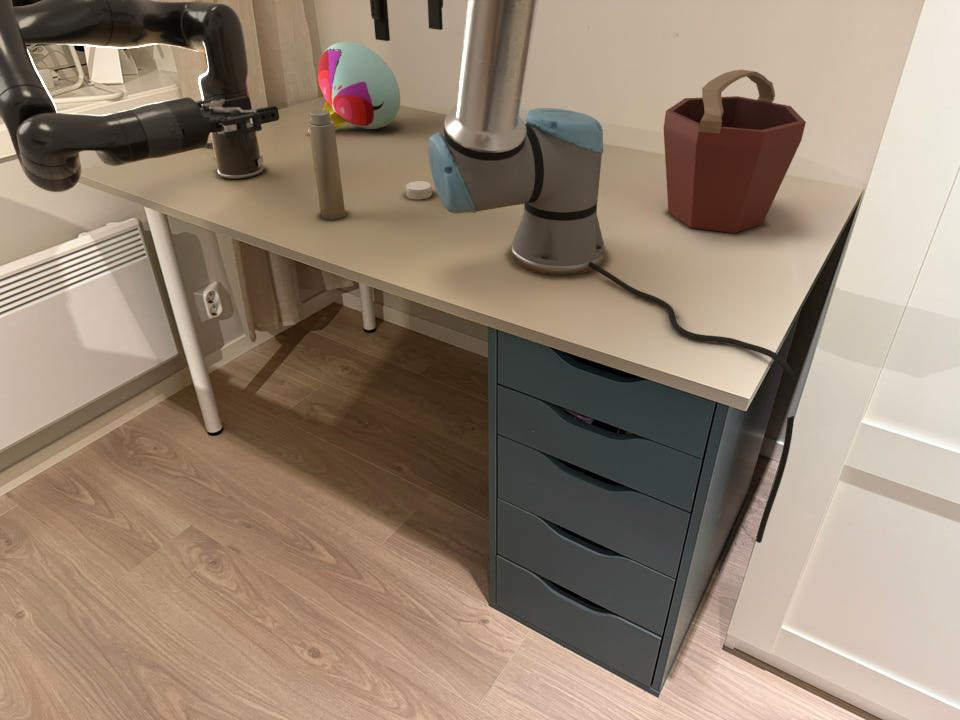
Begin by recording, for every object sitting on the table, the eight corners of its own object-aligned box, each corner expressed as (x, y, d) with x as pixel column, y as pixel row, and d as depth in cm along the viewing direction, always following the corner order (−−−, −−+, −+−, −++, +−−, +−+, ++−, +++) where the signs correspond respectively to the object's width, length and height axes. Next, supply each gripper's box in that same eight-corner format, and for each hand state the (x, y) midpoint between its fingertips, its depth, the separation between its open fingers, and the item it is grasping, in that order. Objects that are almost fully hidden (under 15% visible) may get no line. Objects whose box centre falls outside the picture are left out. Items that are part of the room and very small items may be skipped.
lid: (424, 201, 138) (423, 191, 137) (401, 197, 140) (401, 187, 139) (436, 192, 142) (435, 183, 141) (413, 189, 144) (413, 179, 143)
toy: (277, 110, 181) (275, 51, 163) (352, 72, 191) (358, 13, 173) (336, 175, 178) (341, 122, 160) (410, 134, 188) (421, 79, 170)
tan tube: (331, 209, 135) (318, 107, 125) (350, 213, 134) (337, 110, 123) (316, 217, 132) (301, 113, 122) (334, 221, 130) (321, 117, 120)
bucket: (710, 250, 119) (740, 96, 105) (622, 208, 134) (638, 69, 120) (804, 218, 129) (843, 75, 115) (713, 183, 145) (736, 53, 131)
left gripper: (153, 143, 112) (245, 122, 121) (195, 164, 103) (291, 139, 113) (140, 94, 107) (236, 76, 117) (182, 111, 99) (283, 91, 108)
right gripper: (435, -112, 122) (440, 22, 134) (326, -110, 106) (342, 42, 118) (469, -112, 118) (471, 26, 130) (360, -110, 102) (374, 47, 114)
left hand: (263, 107), depth 115 cm, fingers open, 8 cm apart
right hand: (410, 34), depth 124 cm, fingers open, 13 cm apart
